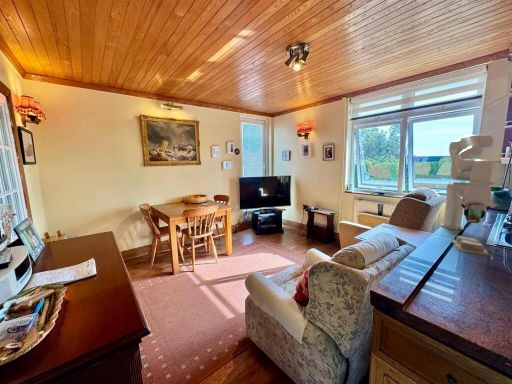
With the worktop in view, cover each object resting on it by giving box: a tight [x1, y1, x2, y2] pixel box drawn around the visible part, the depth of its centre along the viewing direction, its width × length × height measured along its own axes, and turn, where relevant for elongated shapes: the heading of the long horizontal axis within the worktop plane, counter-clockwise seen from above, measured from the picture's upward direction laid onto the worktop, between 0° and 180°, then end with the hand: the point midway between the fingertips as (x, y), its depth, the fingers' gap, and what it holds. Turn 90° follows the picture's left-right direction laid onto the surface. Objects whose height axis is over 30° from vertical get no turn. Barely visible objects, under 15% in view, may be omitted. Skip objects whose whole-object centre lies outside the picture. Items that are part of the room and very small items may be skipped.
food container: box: [465, 205, 485, 224], centre depth 118 cm, size 12×6×10 cm, turn 144°
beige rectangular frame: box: [451, 234, 490, 256], centre depth 121 cm, size 16×12×4 cm
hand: (473, 216), depth 119 cm, fingers closed on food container, 5 cm apart
